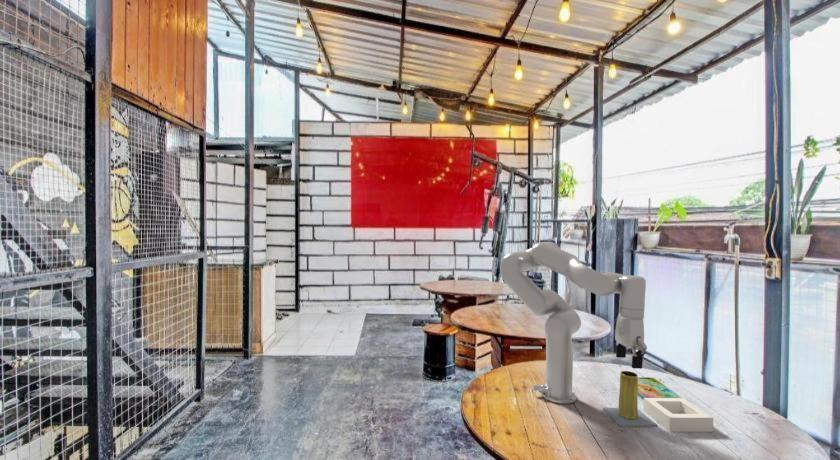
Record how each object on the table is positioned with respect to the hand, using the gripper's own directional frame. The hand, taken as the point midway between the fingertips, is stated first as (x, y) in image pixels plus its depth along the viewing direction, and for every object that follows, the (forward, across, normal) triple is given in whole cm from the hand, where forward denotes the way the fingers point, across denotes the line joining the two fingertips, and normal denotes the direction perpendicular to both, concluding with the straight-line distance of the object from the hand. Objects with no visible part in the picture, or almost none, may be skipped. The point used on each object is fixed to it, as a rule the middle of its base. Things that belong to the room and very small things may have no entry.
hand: (628, 362), depth 134 cm
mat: (+19, +1, +1) cm, 19 cm away
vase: (+18, 0, +1) cm, 18 cm away
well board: (+18, +3, +16) cm, 24 cm away
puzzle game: (+19, -16, +19) cm, 31 cm away
